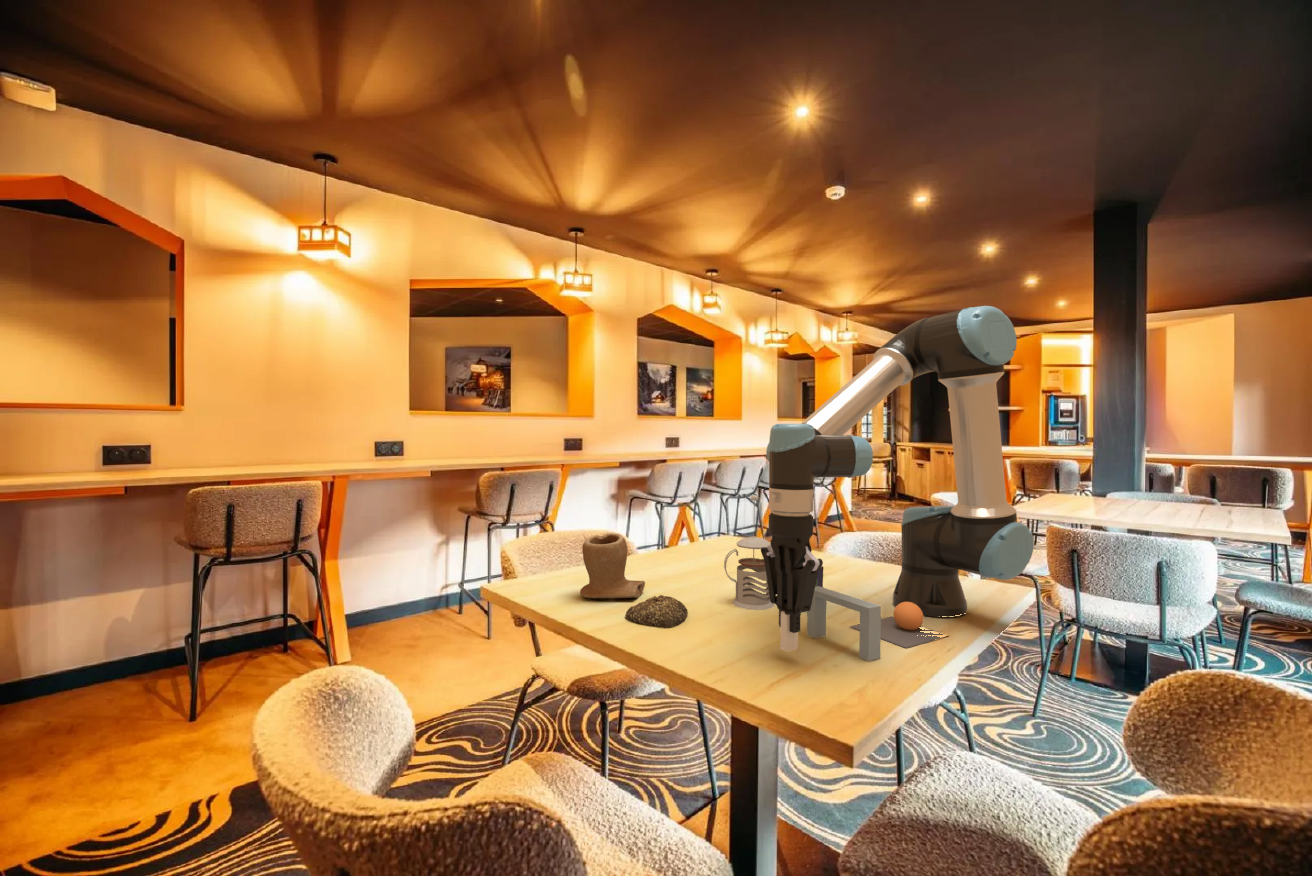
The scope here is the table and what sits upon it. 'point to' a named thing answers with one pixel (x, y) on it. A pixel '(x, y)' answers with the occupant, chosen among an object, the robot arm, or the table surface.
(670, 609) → the bread roll
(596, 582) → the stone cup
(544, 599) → the table surface
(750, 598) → the french press
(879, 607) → the bridge
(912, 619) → the ball
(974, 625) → the table surface
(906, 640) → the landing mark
